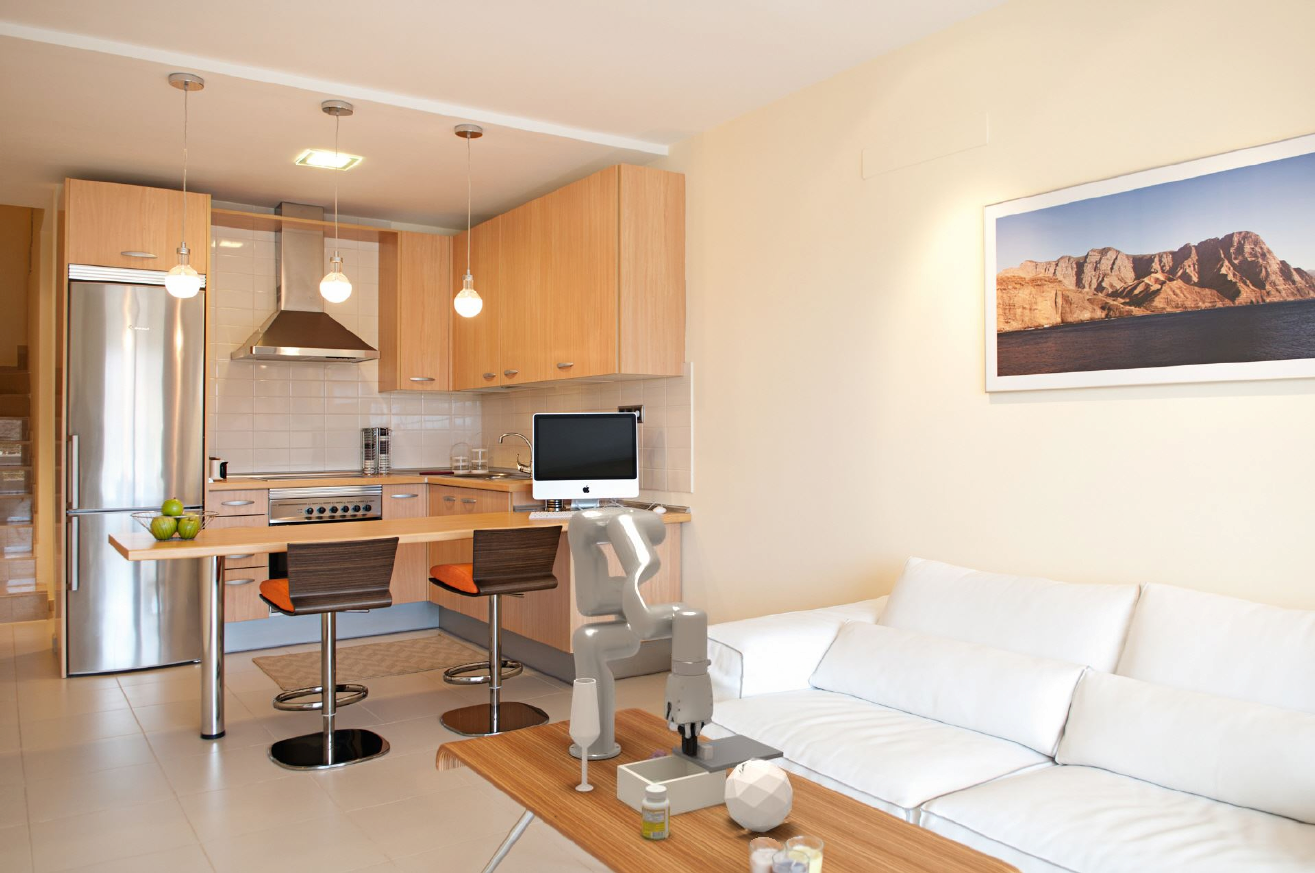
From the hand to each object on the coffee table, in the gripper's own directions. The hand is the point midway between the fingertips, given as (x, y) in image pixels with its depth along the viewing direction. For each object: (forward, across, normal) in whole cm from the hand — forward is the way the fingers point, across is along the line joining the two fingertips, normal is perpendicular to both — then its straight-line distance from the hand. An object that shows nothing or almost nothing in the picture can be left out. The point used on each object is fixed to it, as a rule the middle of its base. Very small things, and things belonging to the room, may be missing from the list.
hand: (689, 754), depth 197 cm
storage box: (+10, +5, 0) cm, 11 cm away
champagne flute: (+10, +17, -16) cm, 25 cm away
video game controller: (+10, -1, -17) cm, 20 cm away
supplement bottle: (+10, +16, +13) cm, 23 cm away
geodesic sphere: (+10, -4, +19) cm, 22 cm away
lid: (+2, -10, 0) cm, 10 cm away
